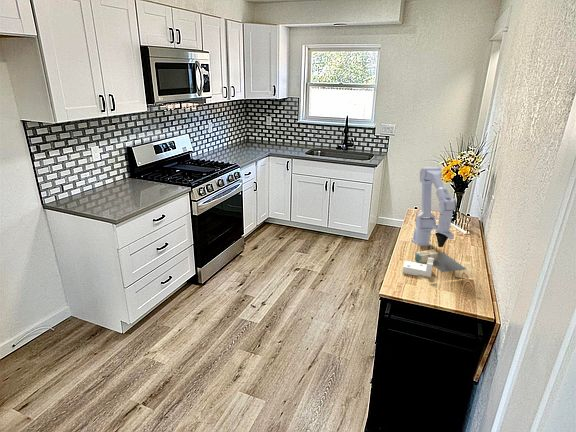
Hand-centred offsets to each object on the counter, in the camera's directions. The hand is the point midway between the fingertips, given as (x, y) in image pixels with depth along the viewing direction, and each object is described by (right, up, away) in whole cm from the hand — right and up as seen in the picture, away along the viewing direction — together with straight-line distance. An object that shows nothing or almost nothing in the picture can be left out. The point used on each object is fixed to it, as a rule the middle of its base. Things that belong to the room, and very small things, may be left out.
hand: (440, 246), depth 192 cm
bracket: (-16, -12, -10) cm, 22 cm away
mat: (+1, -8, -1) cm, 8 cm away
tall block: (-2, -4, 0) cm, 5 cm away
